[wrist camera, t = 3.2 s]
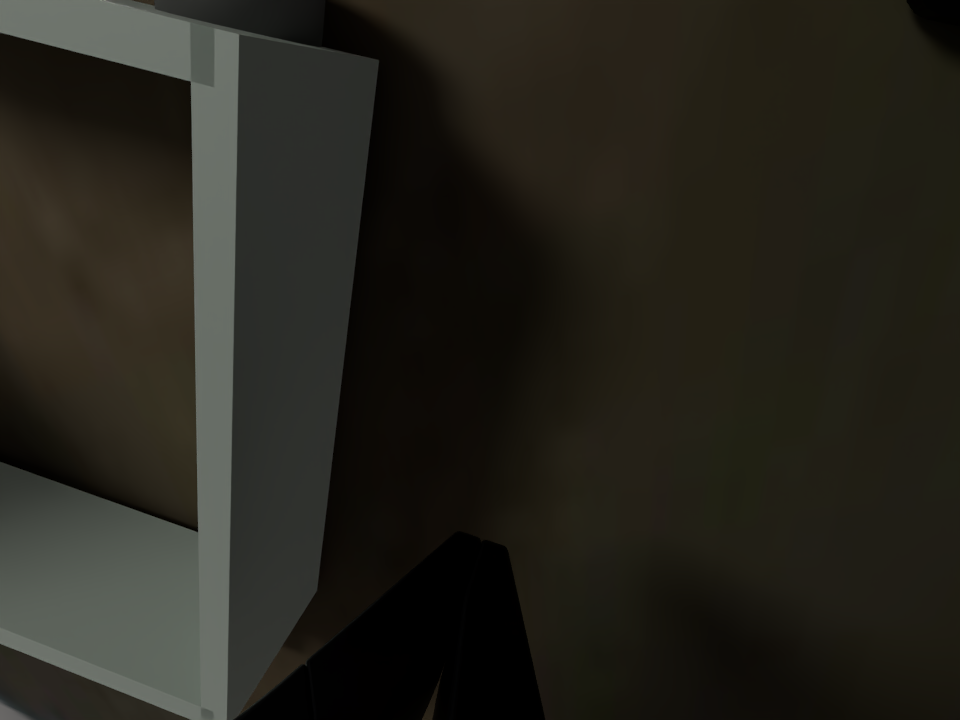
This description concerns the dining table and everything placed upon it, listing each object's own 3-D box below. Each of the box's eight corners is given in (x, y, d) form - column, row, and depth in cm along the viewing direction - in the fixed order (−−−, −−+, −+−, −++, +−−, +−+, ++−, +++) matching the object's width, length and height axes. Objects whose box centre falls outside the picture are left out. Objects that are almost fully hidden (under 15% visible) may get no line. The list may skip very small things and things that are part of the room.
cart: (387, -8, 9) (241, -76, 6) (314, 615, 16) (225, 760, 13) (-222, -146, 11) (-642, -271, 7) (-54, 480, 17) (-227, 576, 14)
